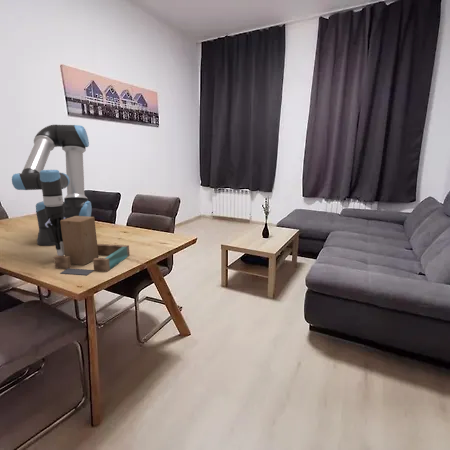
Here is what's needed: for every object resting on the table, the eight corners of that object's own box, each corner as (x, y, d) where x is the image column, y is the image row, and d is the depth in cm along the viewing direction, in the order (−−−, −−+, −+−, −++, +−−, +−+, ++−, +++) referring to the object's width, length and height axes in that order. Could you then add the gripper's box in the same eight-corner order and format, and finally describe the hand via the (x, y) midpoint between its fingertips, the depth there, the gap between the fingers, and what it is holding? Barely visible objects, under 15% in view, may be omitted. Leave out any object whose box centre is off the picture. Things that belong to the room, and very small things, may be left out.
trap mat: (60, 273, 118) (60, 272, 118) (68, 268, 123) (68, 268, 123) (87, 275, 116) (86, 274, 116) (94, 270, 121) (94, 269, 121)
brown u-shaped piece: (55, 268, 124) (53, 257, 122) (84, 252, 143) (83, 243, 142) (107, 271, 120) (106, 260, 119) (129, 255, 140) (128, 245, 138)
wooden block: (85, 265, 127) (79, 221, 122) (65, 263, 129) (59, 220, 124) (99, 257, 136) (94, 216, 131) (80, 256, 138) (75, 215, 133)
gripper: (50, 208, 121) (58, 260, 126) (71, 203, 133) (77, 251, 139) (35, 207, 122) (43, 259, 128) (57, 202, 134) (63, 250, 140)
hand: (61, 255), depth 133 cm, fingers closed
